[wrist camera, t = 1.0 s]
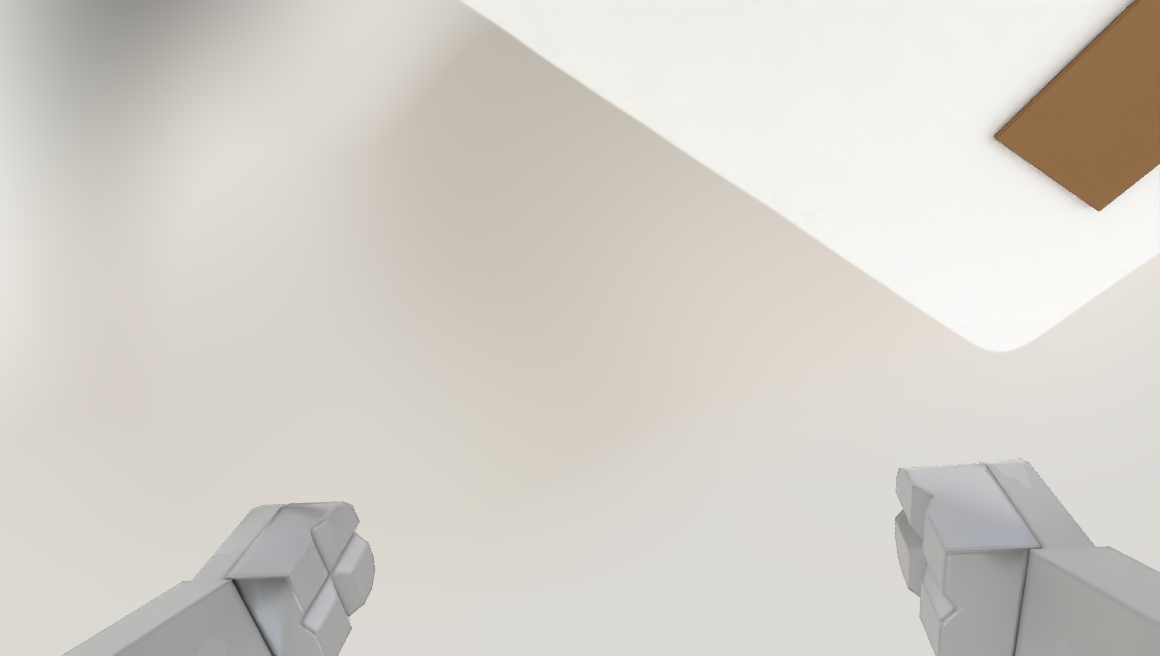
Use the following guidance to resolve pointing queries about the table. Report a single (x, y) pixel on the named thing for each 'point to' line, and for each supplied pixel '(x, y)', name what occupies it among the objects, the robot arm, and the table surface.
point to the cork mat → (1098, 112)
